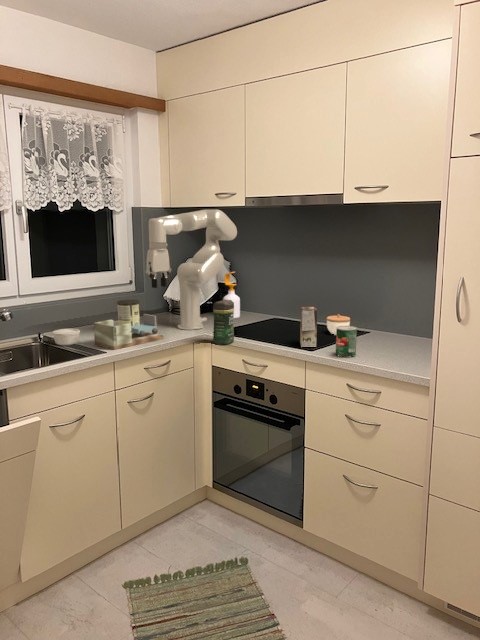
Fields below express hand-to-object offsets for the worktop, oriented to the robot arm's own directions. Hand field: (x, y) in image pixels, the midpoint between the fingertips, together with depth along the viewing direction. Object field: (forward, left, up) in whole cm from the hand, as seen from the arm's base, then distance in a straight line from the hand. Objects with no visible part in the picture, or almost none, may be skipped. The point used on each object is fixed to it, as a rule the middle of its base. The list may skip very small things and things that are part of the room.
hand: (159, 286), depth 242 cm
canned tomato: (-25, +82, -23) cm, 89 cm away
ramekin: (+37, -19, -23) cm, 47 cm away
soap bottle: (-53, -5, -23) cm, 58 cm away
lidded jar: (-55, +60, -23) cm, 85 cm away
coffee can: (+4, -19, -23) cm, 30 cm away
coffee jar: (-8, +32, -23) cm, 40 cm away
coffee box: (-28, +62, -23) cm, 72 cm away
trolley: (+10, 0, -20) cm, 22 cm away
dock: (+18, 0, -22) cm, 28 cm away
